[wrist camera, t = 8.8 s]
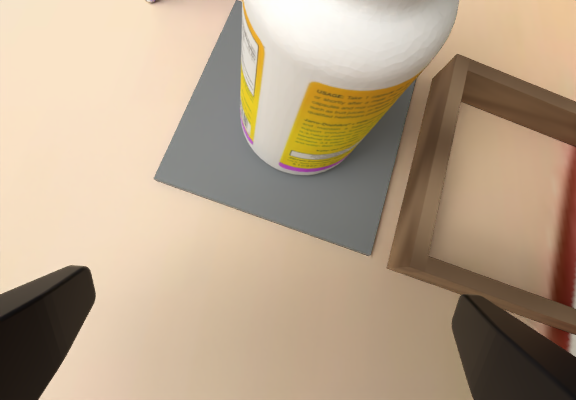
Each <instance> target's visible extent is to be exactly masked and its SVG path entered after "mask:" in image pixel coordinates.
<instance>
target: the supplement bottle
mask: <svg viewBox="0 0 576 400" xmlns="http://www.w3.org/2000/svg"><path fill="white" fill-rule="evenodd" d="M458 4H459V0H242V41H241V47H242V48H241V91H240V117H241V125H242V129H243V132H244V135H245V137H246V140H247V142H248V143H249V145H250V147H251V148H252V149H253V151H254V152H255V153H256V154H257V155H258V156H259V157H260V158H261V159H262V160H263V161H264V162H266V163H267V164H269V165H270V166H272V167H274V168H276V169H278V170H280V171H283V172H286V173H290V174H295V175H313V174H318V173H321V172H325V171H327V170H329V169H331V168H333V167H335V166H336V165H338V164H339V163H341V162H342V161H343V160H344V159H345V158H346V157H347V156H348V155H349V154H350V153H351V152H352V151H353V150H354V148H355V147H356V146H357V145H358V144H359V143H360V142H361V141H362V139H363V138H364V137H365V136H366V135H367V134H368V133H369V132H370V130H371V129H372V128H373V127H374V126H375V125H376V123H377V122H378V121H379V120H380V119H381V118H382V117H383V115H384V114H385V113H386V112H387V111H388V110H389V109H390V107H391V106H392V105H393V104H394V103H395V102H396V101H397V99H398V98H399V97H400V96H401V95H402V94H403V92H404V91H405V90H406V89H407V88H408V87H409V86H410V85H411V84H412V82H413V81H414V80H415V79H416V78H417V77H418V76H419V75H420V73H421V72H422V71H423V70H424V69H425V68H426V67H427V65H428V64H429V63H430V62H431V60H432V59H433V58H434V57H435V55H436V54H437V53H438V52H439V50H440V49H441V48H442V46H443V44H444V43H445V41H446V40H447V38H448V36H449V34H450V32H451V30H452V27H453V25H454V22H455V19H456V15H457V10H458Z"/></svg>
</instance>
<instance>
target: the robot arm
mask: <svg viewBox="0 0 576 400" xmlns="http://www.w3.org/2000/svg"><path fill="white" fill-rule="evenodd" d="M95 297H96V293H95V288H94V284H93V279H92V275H91V271H90V269H89V268H88V267H86V266H75V265H71V266H67V267H65V268H62V269H60V270H57V271H55V272H53V273H50V274H48V275H46V276H43V277H41V278H38V279H36V280H34V281H31V282H29V283H26V284H24V285H22V286H19V287H17V288H14V289H12V290H10V291H7V292H5V293H2V294H0V400H38V399H39V398H40V396H41V395H42V393H43V392H44V390H45V389H46V387H47V385H48V384H49V382H50V381H51V379H52V378H53V376H54V375H55V373H56V372H57V370H58V369H59V367H60V365H61V364H62V362H63V360H64V359H65V357H66V355H67V353H68V352H69V350H70V348H71V346H72V344H73V342H74V340H75V338H76V336H77V334H78V333H79V331H80V329H81V327H82V325H83V323H84V321H85V319H86V317H87V315H88V314H89V312H90V310H91V308H92V306H93V304H94V301H95ZM452 331H453V334H454V338H455V341H456V344H457V348H458V351H459V354H460V358H461V361H462V365H463V368H464V371H465V375H466V378H467V381H468V385H469V388H470V391H471V394H472V397H473V399H474V400H576V357H575V356H573V355H572V354H570V353H569V352H567V351H566V350H564V349H563V348H561V347H560V346H558V345H557V344H555V343H553V342H552V341H550V340H549V339H547V338H546V337H544V336H543V335H541V334H540V333H538V332H537V331H535V330H533V329H532V328H530V327H529V326H527V325H526V324H524V323H523V322H521V321H520V320H518V319H517V318H515V317H514V316H512V315H510V314H509V313H507V312H506V311H504V310H503V309H501V308H500V307H498V306H497V305H495V304H494V303H492V302H490V301H489V300H487V299H486V298H484V297H483V296H481V295H474V294H463V295H461V296H460V298H459V300H458V303H457V306H456V310H455V313H454V316H453V319H452Z"/></svg>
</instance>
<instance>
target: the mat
mask: <svg viewBox="0 0 576 400" xmlns="http://www.w3.org/2000/svg"><path fill="white" fill-rule="evenodd" d="M241 41H242V2H241V1H238V0H236V2H235V4H234V6H233V8H232V10H231V12H230V15H229V17H228V19H227V21H226V23H225V25H224V28H223V30H222V32H221V34H220V36H219V38H218V41H217V43H216V45H215V47H214V49H213V51H212V53H211V56H210V58H209V60H208V62H207V64H206V66H205V69H204V71H203V73H202V75H201V77H200V79H199V82H198V84H197V86H196V88H195V90H194V92H193V95H192V97H191V99H190V101H189V103H188V105H187V108H186V110H185V112H184V114H183V116H182V118H181V121H180V123H179V125H178V127H177V129H176V131H175V133H174V136H173V138H172V140H171V142H170V144H169V146H168V149H167V151H166V153H165V155H164V157H163V159H162V162H161V164H160V166H159V168H158V170H157V172H156V175H155V177H154V179H155V180H156V181H159V182H161V183H164V184H167V185H170V186H173V187H175V188H178V189H181V190H184V191H187V192H190V193H192V194H195V195H198V196H201V197H204V198H206V199H209V200H212V201H215V202H218V203H221V204H223V205H226V206H229V207H232V208H235V209H237V210H240V211H243V212H246V213H249V214H252V215H254V216H257V217H260V218H263V219H266V220H269V221H271V222H274V223H277V224H280V225H283V226H285V227H288V228H291V229H294V230H297V231H300V232H302V233H305V234H308V235H311V236H314V237H316V238H319V239H322V240H325V241H328V242H331V243H333V244H336V245H339V246H342V247H345V248H348V249H350V250H353V251H356V252H359V253H362V254H364V255H367V256H369V255H371V252H372V248H373V244H374V240H375V236H376V233H377V229H378V225H379V221H380V217H381V213H382V209H383V205H384V202H385V198H386V194H387V190H388V186H389V182H390V178H391V174H392V171H393V167H394V163H395V159H396V155H397V151H398V147H399V143H400V140H401V136H402V132H403V128H404V124H405V120H406V116H407V112H408V109H409V105H410V101H411V97H412V93H413V89H414V85H415V81H416V79H415V80H414V81H413V82H412V84H411V85H410V86H409V87H408V88H407V89H406V90H405V91H404V92H403V94H402V95H401V96H400V97H399V98H398V99H397V101H396V102H395V103H394V104H393V105H392V106H391V107H390V109H389V110H388V111H387V112H386V113H385V114H384V115H383V117H382V118H381V119H380V120H379V121H378V122H377V123H376V125H375V126H374V127H373V128H372V129H371V130H370V132H369V133H368V134H367V135H366V136H365V137H364V138H363V139H362V141H361V142H360V143H359V144H358V145H357V146H356V147H355V148H354V150H353V151H352V152H351V153H350V154H349V155H348V156H347V157H346V158H345V159H344V160H343V161H342V162H341V163H339V164H338V165H336V166H335V167H333V168H331V169H329V170H327V171H325V172H321V173H318V174H313V175H295V174H290V173H286V172H283V171H280V170H278V169H276V168H274V167H272V166H270V165H269V164H267V163H266V162H264V161H263V160H262V159H261V158H260V157H259V156H258V155H257V154H256V153H255V152H254V151H253V149H252V148H251V147H250V145H249V143H248V142H247V140H246V137H245V135H244V132H243V129H242V125H241V117H240V91H241V48H242V47H241Z"/></svg>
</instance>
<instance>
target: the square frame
mask: <svg viewBox="0 0 576 400" xmlns="http://www.w3.org/2000/svg"><path fill="white" fill-rule="evenodd" d="M461 101H462V102H464V103H467V104H469V105H472V106H474V107H477V108H479V109H482V110H484V111H487V112H489V113H492V114H494V115H497V116H500V117H502V118H505V119H507V120H510V121H512V122H515V123H517V124H520V125H522V126H525V127H527V128H530V129H532V130H535V131H537V132H540V133H543V134H545V135H548V136H550V137H553V138H555V139H558V140H560V141H563V142H565V143H568V144H570V145H573V146H575V147H576V102H575V101H573V100H570V99H568V98H565V97H563V96H560V95H558V94H555V93H553V92H550V91H548V90H545V89H543V88H540V87H538V86H536V85H533V84H531V83H528V82H526V81H523V80H521V79H518V78H516V77H513V76H511V75H508V74H506V73H503V72H501V71H499V70H496V69H494V68H491V67H489V66H486V65H484V64H481V63H479V62H476V61H474V60H471V59H469V58H466V57H464V56H462V55H459V54H457V55H456V56H455V57H454V58H453V59H452V60H451V61H450V62H449V63H448V64H447V65H446V66H445V67H444V68H443V69H442V70H441V71H440V72H439V73H438V74H437V75H436V76H435V77H434V78H433V79H432V84H431V88H430V92H429V96H428V100H427V104H426V108H425V112H424V117H423V121H422V125H421V129H420V133H419V137H418V141H417V145H416V150H415V154H414V158H413V162H412V166H411V170H410V174H409V178H408V183H407V187H406V191H405V195H404V199H403V203H402V207H401V211H400V216H399V220H398V224H397V228H396V232H395V236H394V240H393V244H392V249H391V253H390V257H389V261H388V265H387V268H388V269H391V270H393V271H396V272H399V273H402V274H405V275H408V276H410V277H413V278H416V279H419V280H422V281H425V282H427V283H430V284H433V285H436V286H439V287H441V288H444V289H447V290H450V291H453V292H456V293H458V294H461V295H463V294H474V295H481V296H483V297H484V298H486V299H487V300H489V301H490V302H492V303H494V304H495V305H497V306H498V307H500V308H501V309H504V310H507V311H509V312H512V313H515V314H518V315H521V316H524V317H526V318H529V319H532V320H535V321H538V322H541V323H543V324H546V325H549V326H552V327H555V328H558V329H560V330H563V331H566V332H569V333H572V334H575V335H576V309H574V308H572V307H569V306H566V305H563V304H560V303H558V302H555V301H552V300H549V299H547V298H544V297H541V296H538V295H535V294H533V293H530V292H527V291H524V290H521V289H519V288H516V287H513V286H510V285H508V284H505V283H502V282H499V281H496V280H494V279H491V278H488V277H485V276H483V275H480V274H477V273H474V272H471V271H469V270H466V269H463V268H460V267H457V266H455V265H452V264H449V263H446V262H444V261H441V260H438V259H435V258H432V257H430V256H428V255H429V250H430V246H431V241H432V236H433V231H434V227H435V222H436V217H437V213H438V208H439V203H440V198H441V194H442V189H443V184H444V179H445V175H446V170H447V165H448V160H449V156H450V151H451V146H452V142H453V137H454V132H455V127H456V123H457V118H458V113H459V108H460V104H461Z"/></svg>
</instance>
